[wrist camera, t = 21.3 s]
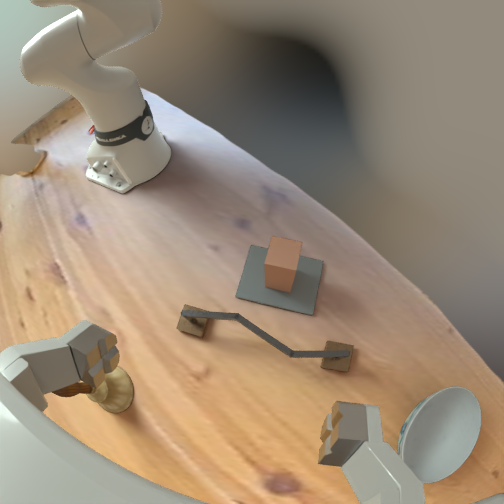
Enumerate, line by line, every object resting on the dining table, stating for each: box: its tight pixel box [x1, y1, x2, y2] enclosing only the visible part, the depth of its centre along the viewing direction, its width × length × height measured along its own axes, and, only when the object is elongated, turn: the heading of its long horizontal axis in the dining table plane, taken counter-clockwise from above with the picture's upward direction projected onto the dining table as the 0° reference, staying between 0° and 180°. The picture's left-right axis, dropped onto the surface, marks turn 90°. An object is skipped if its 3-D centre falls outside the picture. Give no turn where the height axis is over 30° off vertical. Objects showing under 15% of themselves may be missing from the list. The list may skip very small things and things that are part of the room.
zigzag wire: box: [177, 304, 353, 372], centre depth 36 cm, size 26×4×6 cm, turn 74°
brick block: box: [264, 236, 302, 293], centre depth 39 cm, size 4×4×9 cm
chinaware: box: [398, 386, 482, 483], centre depth 27 cm, size 15×15×8 cm
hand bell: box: [52, 366, 134, 413], centre depth 29 cm, size 8×8×16 cm
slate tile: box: [236, 245, 323, 315], centre depth 43 cm, size 12×9×1 cm
